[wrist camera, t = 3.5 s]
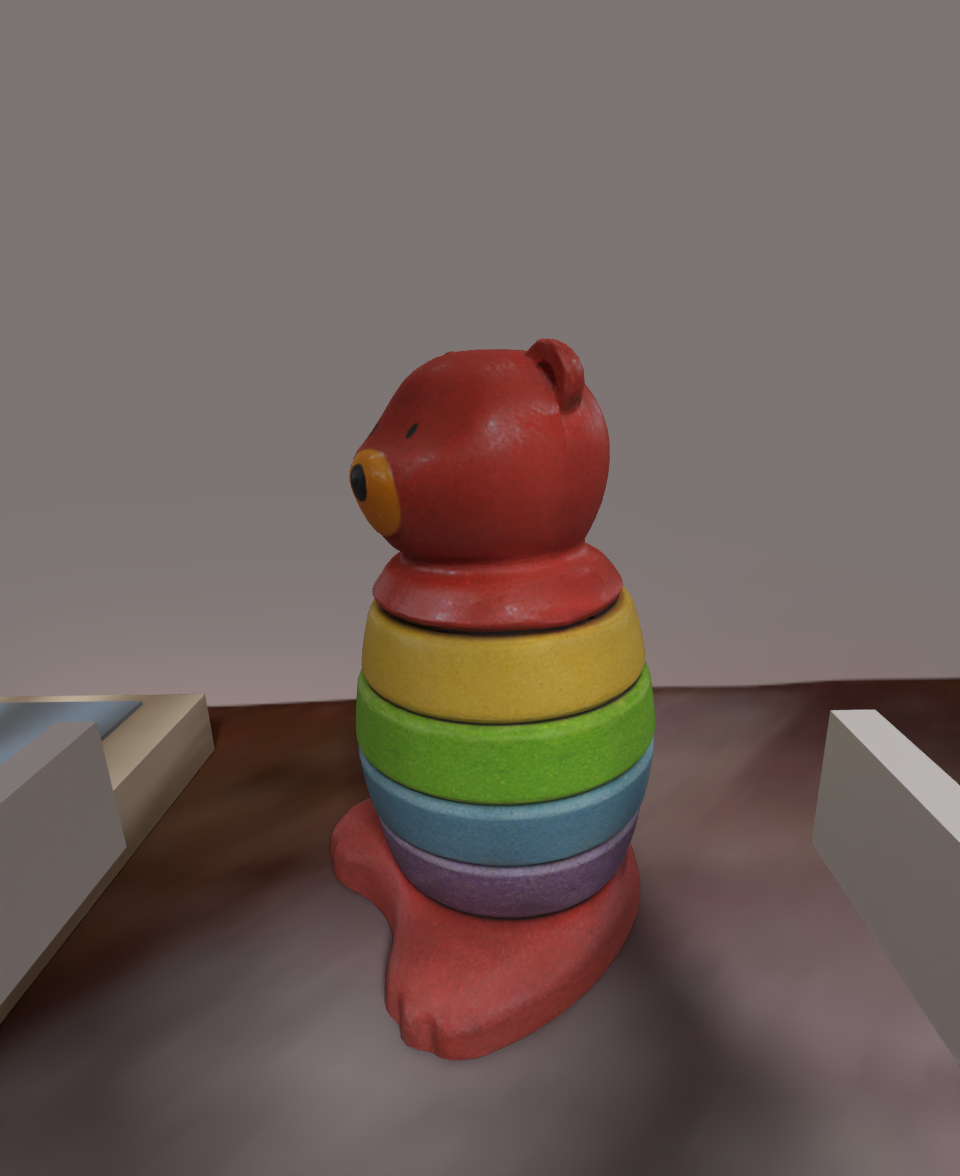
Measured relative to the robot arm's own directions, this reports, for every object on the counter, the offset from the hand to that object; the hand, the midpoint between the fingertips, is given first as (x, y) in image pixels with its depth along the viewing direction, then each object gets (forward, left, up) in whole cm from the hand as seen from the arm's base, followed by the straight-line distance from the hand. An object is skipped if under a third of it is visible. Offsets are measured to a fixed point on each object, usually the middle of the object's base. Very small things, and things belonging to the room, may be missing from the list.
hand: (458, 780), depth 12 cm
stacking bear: (0, -9, -10) cm, 13 cm away
